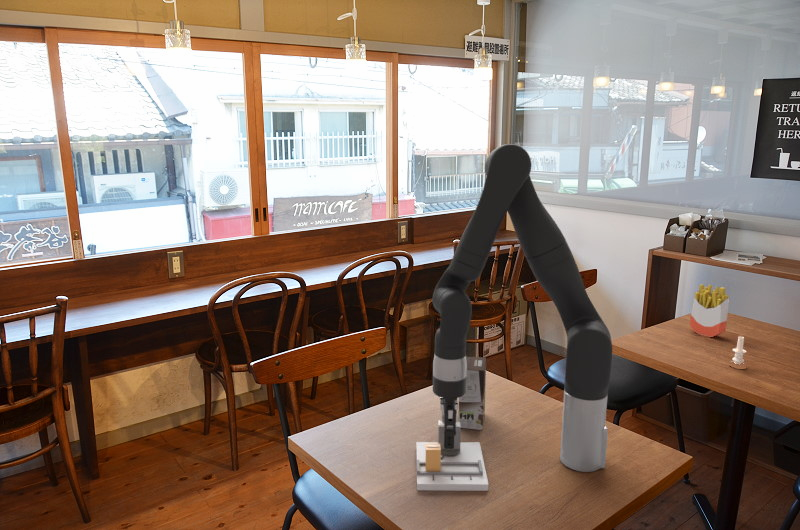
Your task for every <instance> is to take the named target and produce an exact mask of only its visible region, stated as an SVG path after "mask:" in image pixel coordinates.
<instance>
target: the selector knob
mask: <svg viewBox="0 0 800 530" xmlns="http://www.w3.org/2000/svg"><path fill="white" fill-rule="evenodd" d="M437 424H438V425H437V442H438V444H440V447H441V454H442V455H445V456H455V455H457V454H459V453H460V442H461V437H462V435H461V431H462V428H461V426H460V422H458V421H457V423H456V436H454V448H453V449H445V448H444V432H443V430H444V424H443V423H442V419H441V420H440V419H439V420H438V422H437ZM447 428H453V426H447Z"/></svg>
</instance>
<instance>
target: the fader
mask: <svg viewBox="0 0 800 530" xmlns="http://www.w3.org/2000/svg"><path fill="white" fill-rule="evenodd" d="M426 471H434V472H441V447H440V444H426Z"/></svg>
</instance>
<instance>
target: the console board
mask: <svg viewBox="0 0 800 530" xmlns="http://www.w3.org/2000/svg"><path fill="white" fill-rule="evenodd" d="M415 443H416V447H415V448H416V490H417V491H446V492H447V491H448V492H449V491H453V492H454V491H455V492H456V491H458V492H460V491H461V492H463V491H469V492H472V491H474V492H476V491H477V492H478V491H479V492H482V491H484V492H487V491H489V479H488V475H487V472H486V470H487V469H486V467H485V466H486V465H485V462H484V461H485V460H484V456H483V452H482V448H481V443H480V442H479V441H478V442H477V441H476V442H474V441H473V442H471V441H470V442H467V441H465V442H461V441H460V453H459V454H457V455H455V456H445V455H442V454H441V472H434V471H426V444H438V441H432V442H431V441H416V442H415Z"/></svg>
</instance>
